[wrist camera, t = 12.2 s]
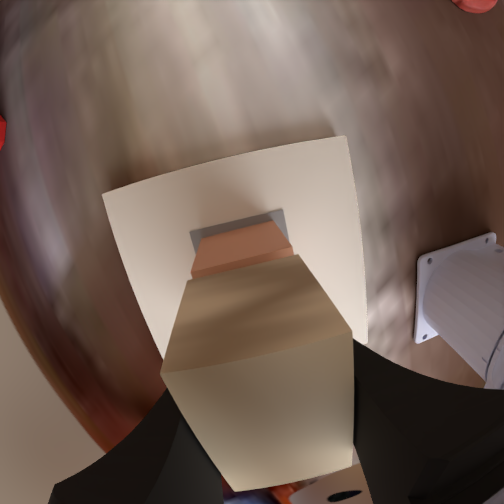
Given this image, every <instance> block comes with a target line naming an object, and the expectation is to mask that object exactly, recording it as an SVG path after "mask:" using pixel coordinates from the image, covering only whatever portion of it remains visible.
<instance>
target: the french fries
mask: <svg viewBox="0 0 504 504" xmlns="http://www.w3.org/2000/svg"><path fill="white" fill-rule="evenodd" d="M5 131H6V121H5V120H4V119H3V118H2V116H1V115H0V150H1V148H2V146H3V144H4V141H5Z"/></svg>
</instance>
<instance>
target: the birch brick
mask: <svg viewBox="0 0 504 504" xmlns="http://www.w3.org/2000/svg"><path fill="white" fill-rule="evenodd" d="M160 375H161V377H162V379H163V381H164V382H165V384H166V386H167V388H168V390H169V392H170V393H171V395H172V397H173V399H174V401H175V402H176V404H177V406H178V408H179V409H180V411H181V413H182V414H183V416H184V418H185V419H186V421H187V423H188V424H189V426H190V428H191V429H192V431H193V432H194V434H195V436H196V437H197V439H198V440H199V442H200V443H201V445H202V446H203V448H204V449H205V451H206V452H207V454H208V455H209V457H210V458H211V460H212V461H213V463H214V464H215V465H216V467H217V468H218V470H219V471H220V472H221V474H222V475H223V477H224V478H225V479H226V481H227V482H228V483H229V485H230V486H231V487H232V489H233V490H234V491H244V490H251V489H258V488H265V487H271V486H276V485H281V484H286V483H291V482H296V481H300V480H304V479H309V478H313V477H316V476H320V475H324V474H327V473H331V472H334V471H338V470H341V469H344V468H347V467H350V466H352V450H353V428H354V357H353V333H352V330H351V328H350V327H349V325H348V324H347V322H346V321H345V319H344V318H343V316H342V315H341V314H340V312H339V311H338V309H337V308H336V306H335V305H334V303H333V302H332V301H331V299H330V298H329V296H328V295H327V294H326V292H325V291H324V289H323V288H322V286H321V285H320V284H319V282H318V281H317V279H316V278H315V277H314V275H313V274H312V272H311V271H310V270H309V268H308V267H307V265H306V264H305V263H304V261H303V260H302V259H301V257H300V256H299V254H297V255H292V256H288V257H284V258H280V259H276V260H272V261H268V262H263V263H259V264H255V265H251V266H247V267H242V268H238V269H234V270H230V271H225V272H221V273H217V274H213V275H208V276H204V277H200V278H195V279H191V280H187V283H186V286H185V289H184V292H183V296H182V299H181V302H180V305H179V309H178V312H177V315H176V319H175V322H174V325H173V329H172V332H171V336H170V339H169V343H168V346H167V350H166V353H165V357H164V360H163V364H162V368H161V371H160Z"/></svg>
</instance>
